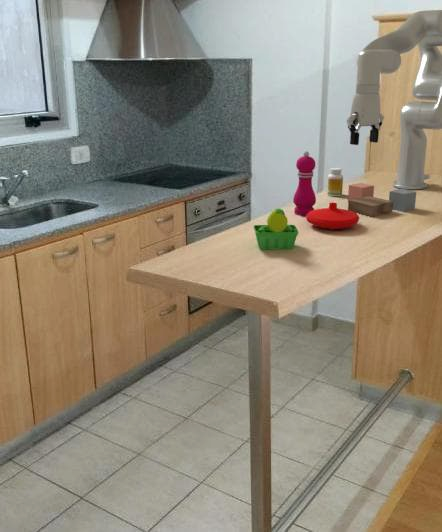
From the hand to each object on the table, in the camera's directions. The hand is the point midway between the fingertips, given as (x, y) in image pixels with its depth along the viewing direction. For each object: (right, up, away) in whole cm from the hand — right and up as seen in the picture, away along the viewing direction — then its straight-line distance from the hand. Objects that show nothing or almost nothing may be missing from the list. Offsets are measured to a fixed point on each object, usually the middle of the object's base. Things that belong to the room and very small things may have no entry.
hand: (364, 143), depth 201 cm
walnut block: (0, -24, -6) cm, 25 cm away
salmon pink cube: (0, -19, +7) cm, 20 cm away
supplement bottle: (-7, -16, +17) cm, 24 cm away
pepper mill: (-21, -24, -7) cm, 33 cm away
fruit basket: (-33, -36, -40) cm, 64 cm away
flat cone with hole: (-15, -29, -21) cm, 39 cm away
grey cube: (+12, -22, -3) cm, 25 cm away
